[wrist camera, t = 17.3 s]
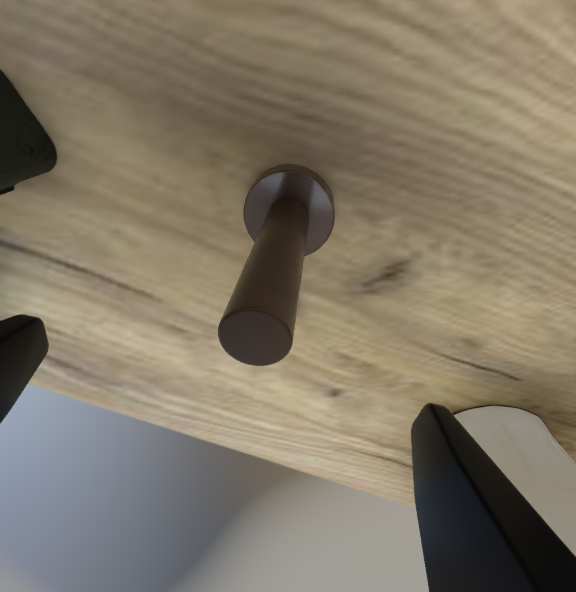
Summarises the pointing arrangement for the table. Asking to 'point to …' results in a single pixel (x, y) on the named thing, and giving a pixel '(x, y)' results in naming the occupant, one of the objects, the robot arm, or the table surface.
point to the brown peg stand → (275, 262)
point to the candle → (20, 141)
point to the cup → (529, 462)
